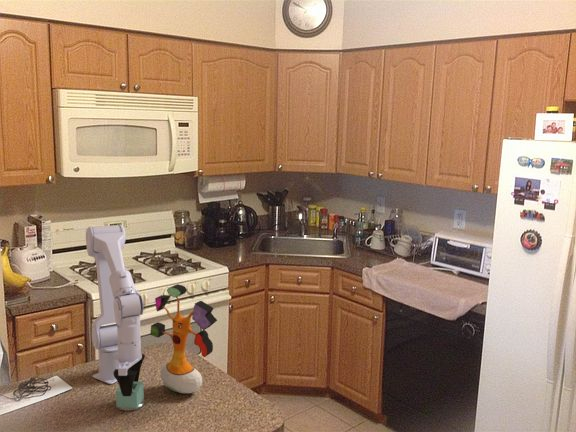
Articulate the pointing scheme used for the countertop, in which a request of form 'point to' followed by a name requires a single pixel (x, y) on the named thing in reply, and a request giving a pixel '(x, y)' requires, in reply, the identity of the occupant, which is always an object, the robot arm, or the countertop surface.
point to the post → (132, 408)
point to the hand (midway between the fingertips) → (130, 388)
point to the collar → (131, 400)
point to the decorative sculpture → (184, 342)
